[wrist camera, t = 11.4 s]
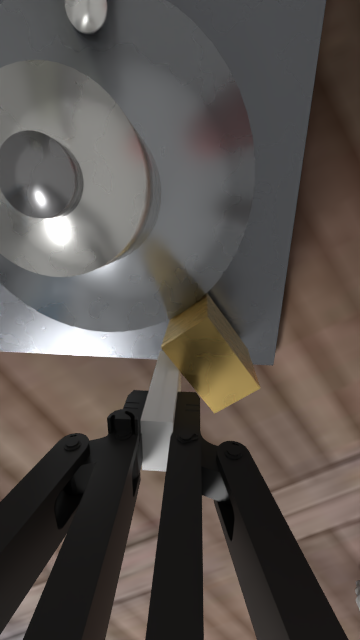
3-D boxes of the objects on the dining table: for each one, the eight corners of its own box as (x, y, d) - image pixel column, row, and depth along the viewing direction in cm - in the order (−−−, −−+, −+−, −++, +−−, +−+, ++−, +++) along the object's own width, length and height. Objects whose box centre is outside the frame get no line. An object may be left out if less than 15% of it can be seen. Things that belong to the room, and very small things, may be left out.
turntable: (136, 409, 24) (116, 467, 18) (-91, 158, 19) (-213, 135, 13) (343, 284, 19) (398, 312, 14) (119, -101, 14) (65, -304, 8)
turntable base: (-19, 343, 25) (-31, 350, 23) (-112, -45, 16) (-139, -68, 15) (269, 357, 23) (273, 366, 22) (328, -64, 15) (340, -91, 13)
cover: (68, 282, 18) (7, 309, 13) (-3, 152, 16) (-113, 115, 11) (183, 230, 17) (173, 234, 11) (121, 79, 15) (71, -10, 9)
